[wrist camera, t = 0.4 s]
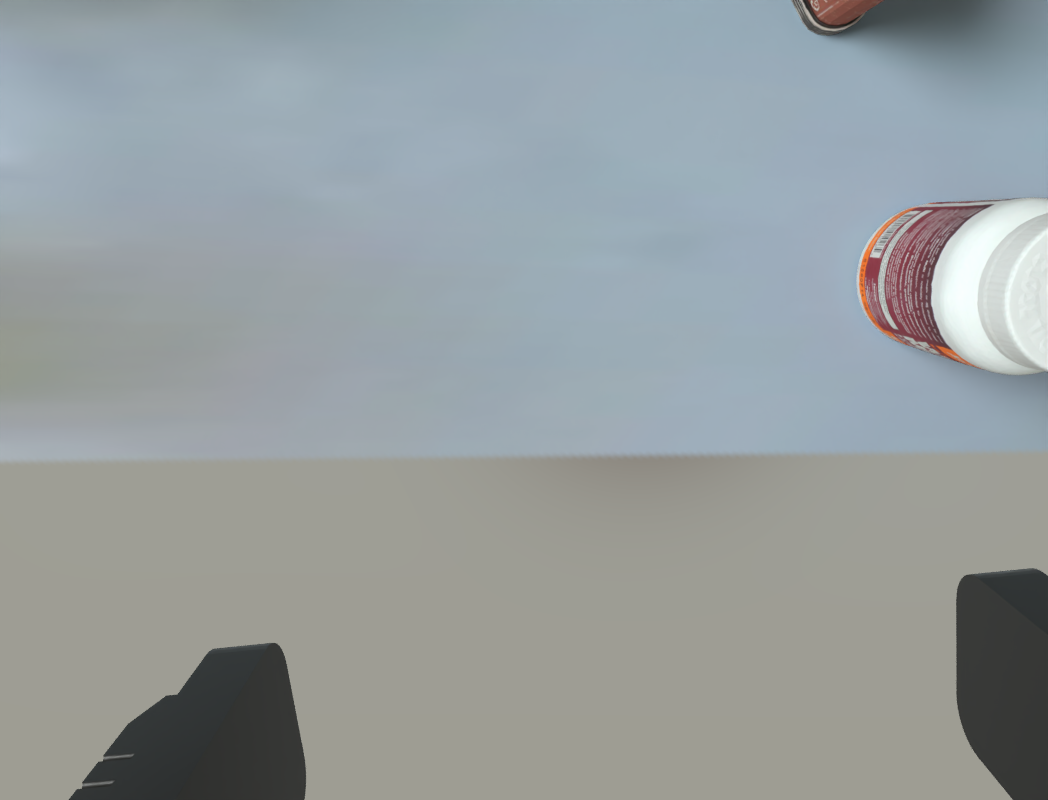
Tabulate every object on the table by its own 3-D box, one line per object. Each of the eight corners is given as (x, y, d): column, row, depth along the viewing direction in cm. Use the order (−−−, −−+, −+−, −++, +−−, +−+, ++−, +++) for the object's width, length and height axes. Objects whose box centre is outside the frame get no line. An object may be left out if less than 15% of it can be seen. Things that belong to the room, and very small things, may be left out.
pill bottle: (861, 356, 38) (997, 413, 27) (842, 218, 37) (978, 218, 26) (1000, 328, 38) (1196, 373, 26) (986, 188, 36) (1186, 174, 25)
